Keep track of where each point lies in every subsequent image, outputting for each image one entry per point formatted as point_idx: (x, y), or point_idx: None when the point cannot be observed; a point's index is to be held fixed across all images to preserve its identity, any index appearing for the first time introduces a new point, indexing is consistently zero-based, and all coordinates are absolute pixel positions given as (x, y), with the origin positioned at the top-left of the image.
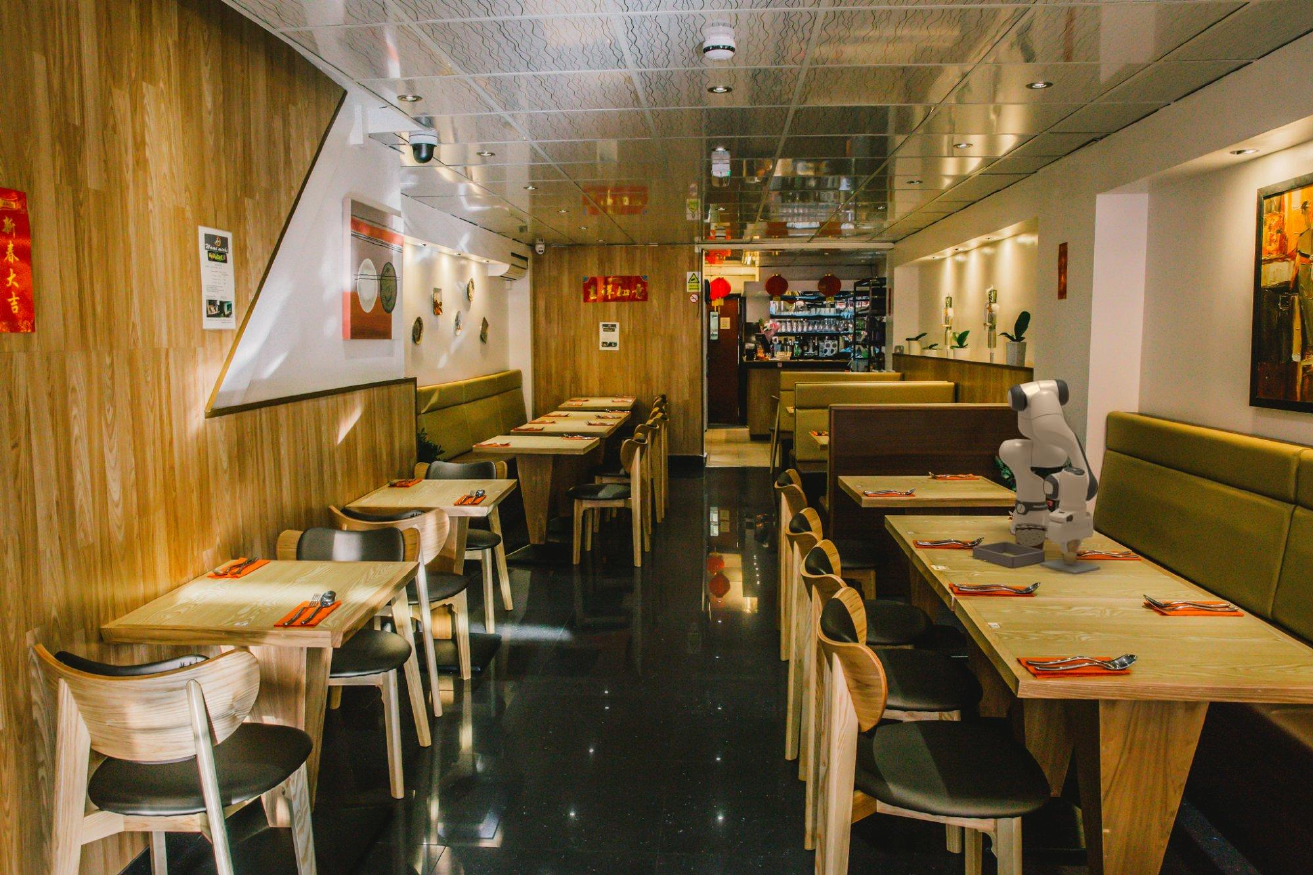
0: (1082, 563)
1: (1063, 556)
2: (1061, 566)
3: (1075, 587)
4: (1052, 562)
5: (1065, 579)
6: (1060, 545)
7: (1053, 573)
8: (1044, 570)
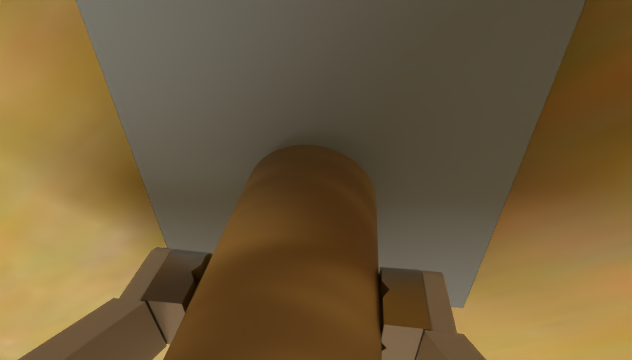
0: (463, 208)
1: (247, 189)
2: (202, 167)
3: (42, 342)
4: (233, 26)
5: (66, 282)
6: (57, 337)
7: (63, 194)
8: (34, 114)
